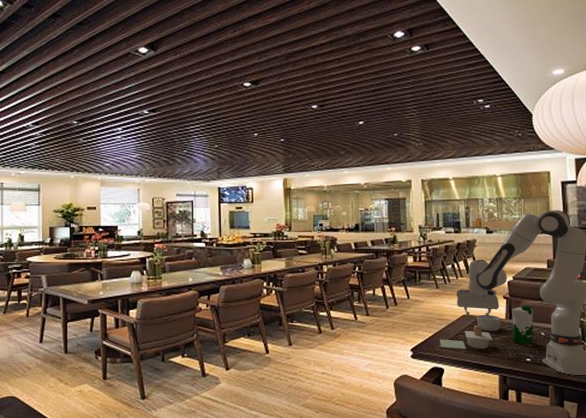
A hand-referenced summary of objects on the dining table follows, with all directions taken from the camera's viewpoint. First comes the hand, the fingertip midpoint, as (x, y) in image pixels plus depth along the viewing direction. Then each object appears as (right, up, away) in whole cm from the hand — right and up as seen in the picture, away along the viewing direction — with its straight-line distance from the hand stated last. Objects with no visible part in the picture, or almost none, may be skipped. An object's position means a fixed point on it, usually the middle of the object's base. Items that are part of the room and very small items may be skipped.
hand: (477, 316), depth 223 cm
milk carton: (+27, -16, +5) cm, 32 cm away
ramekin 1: (0, -16, 0) cm, 16 cm away
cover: (0, -11, 0) cm, 11 cm away
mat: (-12, -16, +2) cm, 20 cm away
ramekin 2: (+21, -16, +33) cm, 43 cm away
